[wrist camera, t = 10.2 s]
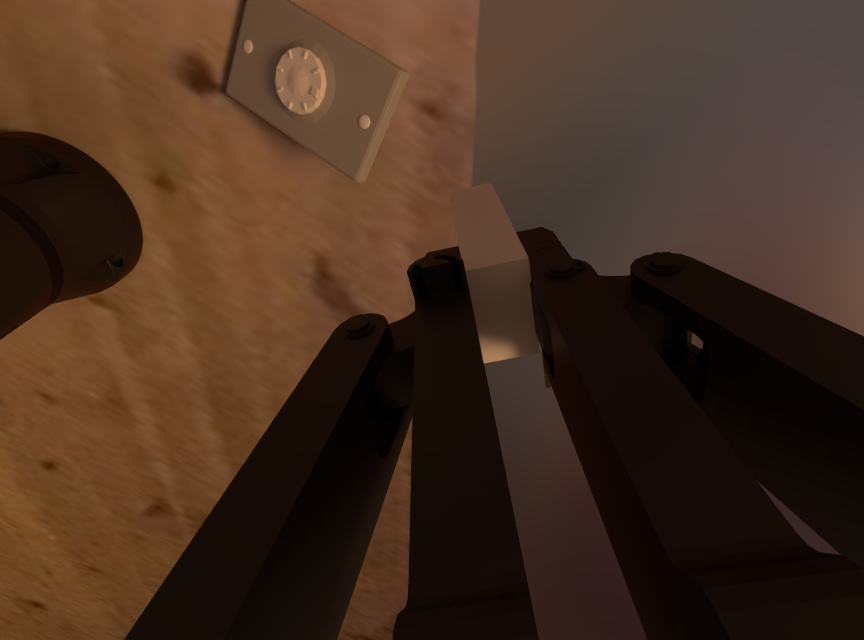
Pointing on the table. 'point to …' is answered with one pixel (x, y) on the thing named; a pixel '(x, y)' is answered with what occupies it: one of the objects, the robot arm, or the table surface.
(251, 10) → the light switch
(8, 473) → the table surface
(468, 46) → the table surface
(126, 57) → the table surface
